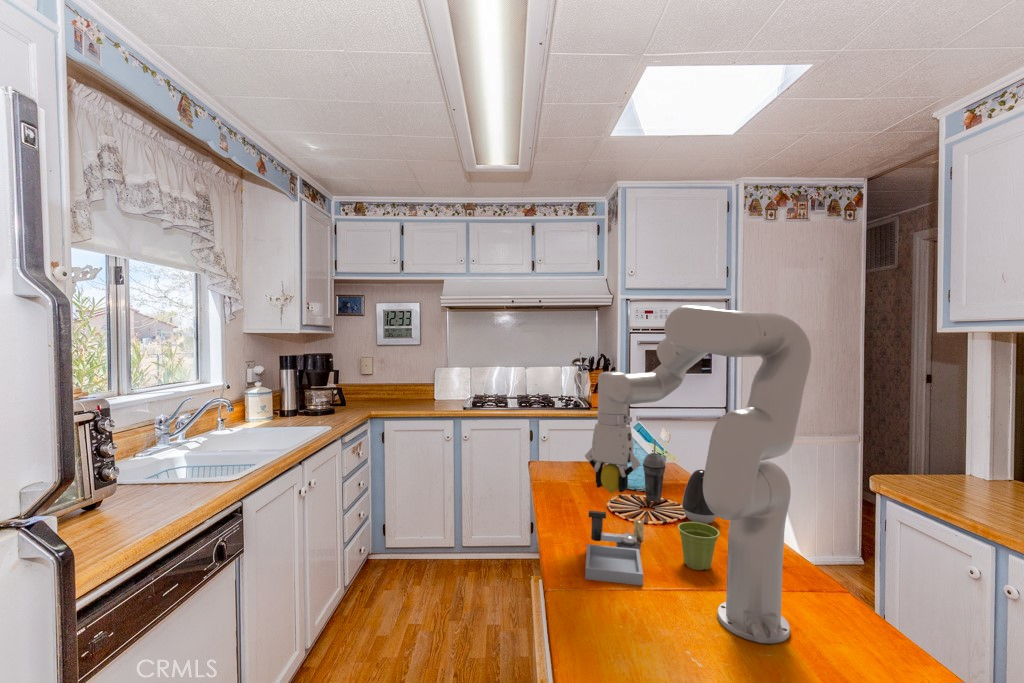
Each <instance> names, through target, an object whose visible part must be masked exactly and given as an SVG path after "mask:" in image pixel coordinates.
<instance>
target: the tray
mask: <svg viewBox="0 0 1024 683" xmlns="http://www.w3.org/2000/svg"><path fill="white" fill-rule="evenodd" d="M585 557H586V558H585V572H584V573H585V576H584V579H585V580H588V581H589V580H591V581H598V582H609V583H618V584H625V585H634V586H644V571H643V570H644V569H643V565H642V559H641V553H640V551H639V549H633V548H622V547H616V546H610V545H600V544H589V543H587V544H586V556H585Z"/></svg>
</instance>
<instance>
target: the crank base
mask: <svg viewBox="0 0 1024 683" xmlns="http://www.w3.org/2000/svg"><path fill="white" fill-rule="evenodd" d="M633 522H634V523H633V524H634V525H633V534H634V535H636V536H637V543H636V544H635V545H626V544H623V543H621V542H616V545H615V547H622V548H633V549H639V551H640V554H641V551H642V550H641V549H642V548H641V547H642V543H641V542H643V541H644V520H642V519H639V518H637V519H634V521H633ZM639 541H640V542H639Z"/></svg>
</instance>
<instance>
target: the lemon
mask: <svg viewBox="0 0 1024 683" xmlns="http://www.w3.org/2000/svg"><path fill="white" fill-rule="evenodd" d="M620 476H621V473H620V470H619V466H618V465H614V464H609V463H606V465H605V464H604V466H603V468H602V472H601V483H602V485H603V486H602V487H603V488H604V489H605V490H606V491H608V492H609V493H610V494H613V493H614V492H615V491H617V490H618V491H619V477H620Z"/></svg>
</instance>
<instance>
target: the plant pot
mask: <svg viewBox="0 0 1024 683" xmlns="http://www.w3.org/2000/svg"><path fill="white" fill-rule="evenodd" d="M677 530H678V531H679V535H680V538H681V546H682V549H681V550H682V556H683V557H682V558H683V563H684V565H686V566H687V567H688V568H690V569H693V570H695V571H696V570H697V571H703V570H706V571H709V570H710V569H711V568H712V563H713V557H714V551H715V548H716V543H717V540H718V538H719V536H720V530H719V529H718V528H716V527H714V526H711V525H710V524H703V523H698V522H693V521H686V522H681V523H679V524H678V525H677Z"/></svg>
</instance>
